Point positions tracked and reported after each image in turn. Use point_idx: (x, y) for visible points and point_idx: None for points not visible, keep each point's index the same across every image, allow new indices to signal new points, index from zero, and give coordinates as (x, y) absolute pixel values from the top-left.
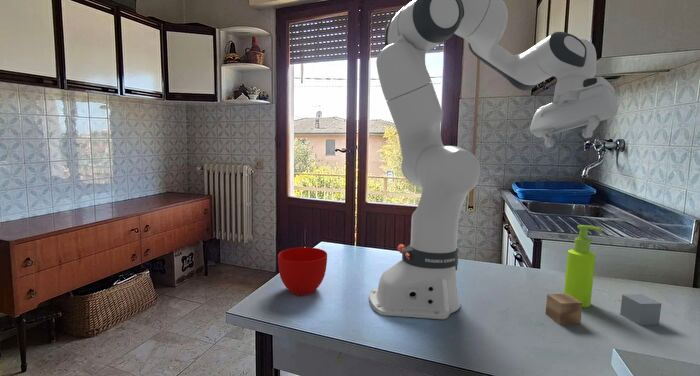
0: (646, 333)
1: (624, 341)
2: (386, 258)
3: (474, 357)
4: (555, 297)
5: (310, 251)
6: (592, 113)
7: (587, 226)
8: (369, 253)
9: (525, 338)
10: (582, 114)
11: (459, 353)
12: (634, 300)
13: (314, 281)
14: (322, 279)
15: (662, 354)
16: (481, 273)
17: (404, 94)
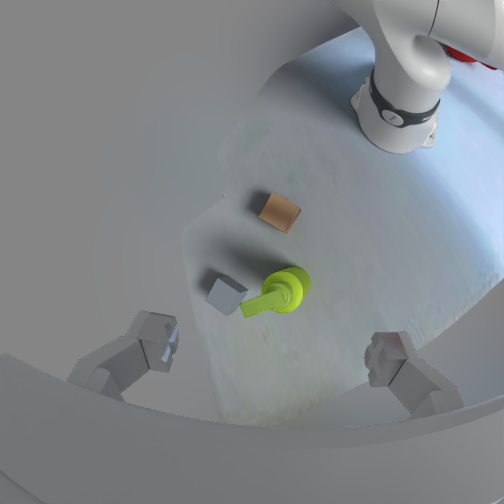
0: (216, 259)
1: (223, 219)
2: None
3: (287, 79)
4: (285, 203)
5: None
6: (53, 380)
7: (263, 296)
8: None
9: (282, 137)
10: (110, 419)
11: (298, 74)
12: (225, 283)
13: None
14: (452, 50)
15: (196, 223)
16: (431, 270)
17: None
